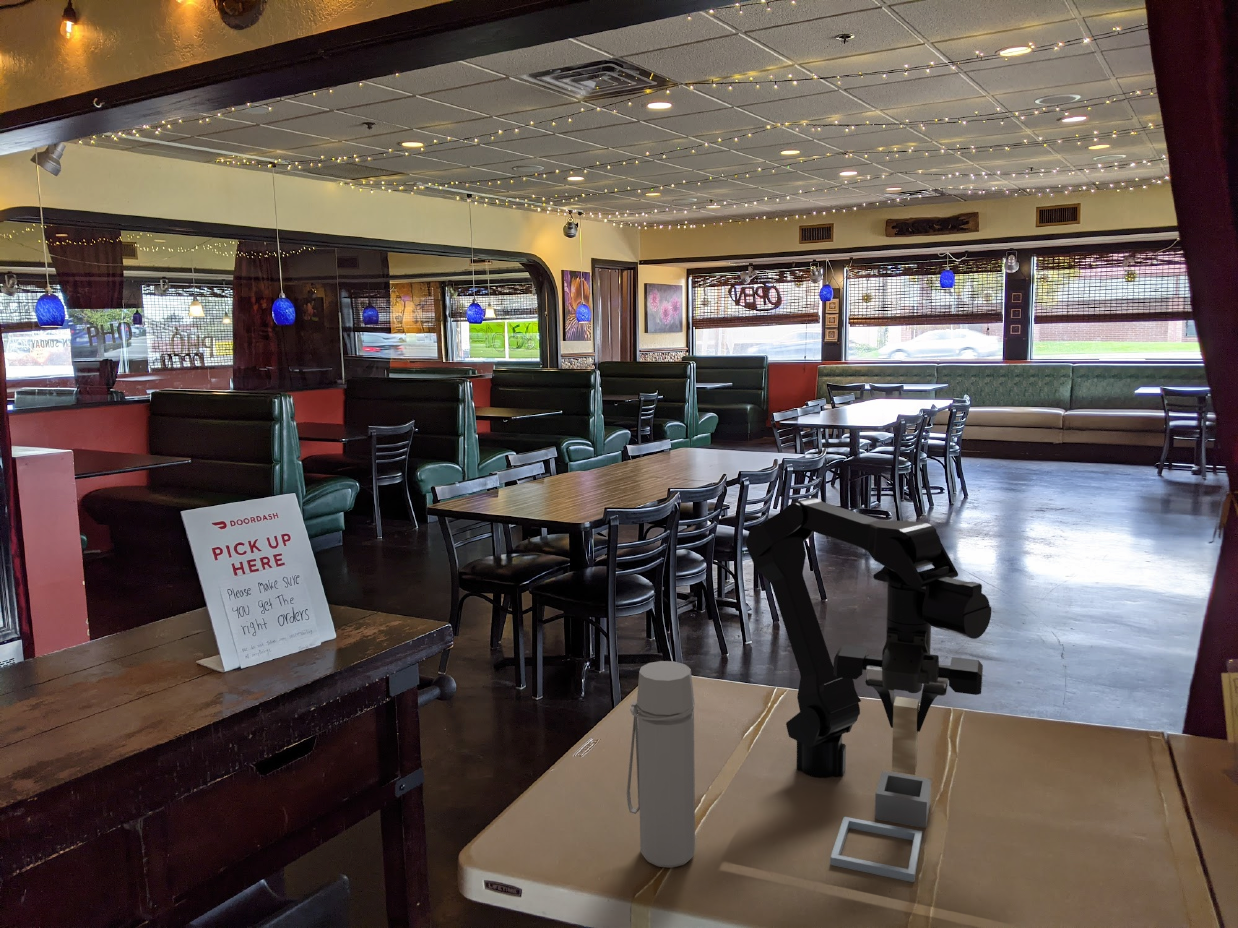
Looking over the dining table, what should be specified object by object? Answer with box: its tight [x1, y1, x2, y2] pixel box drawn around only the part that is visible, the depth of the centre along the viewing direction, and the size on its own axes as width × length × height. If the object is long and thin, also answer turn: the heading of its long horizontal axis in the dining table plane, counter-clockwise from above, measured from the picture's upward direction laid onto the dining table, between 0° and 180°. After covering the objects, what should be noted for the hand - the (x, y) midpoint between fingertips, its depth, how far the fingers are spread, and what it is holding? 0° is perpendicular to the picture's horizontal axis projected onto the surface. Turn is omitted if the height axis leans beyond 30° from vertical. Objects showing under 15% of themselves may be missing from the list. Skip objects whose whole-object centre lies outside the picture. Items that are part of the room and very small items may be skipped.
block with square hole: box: [874, 770, 932, 829], centre depth 127 cm, size 7×7×4 cm
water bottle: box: [626, 660, 696, 868], centre depth 118 cm, size 9×8×25 cm
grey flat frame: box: [829, 816, 923, 883], centre depth 118 cm, size 10×10×2 cm
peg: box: [891, 695, 920, 776], centre depth 125 cm, size 3×3×10 cm
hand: (905, 728), depth 125 cm, fingers closed on peg, 3 cm apart
